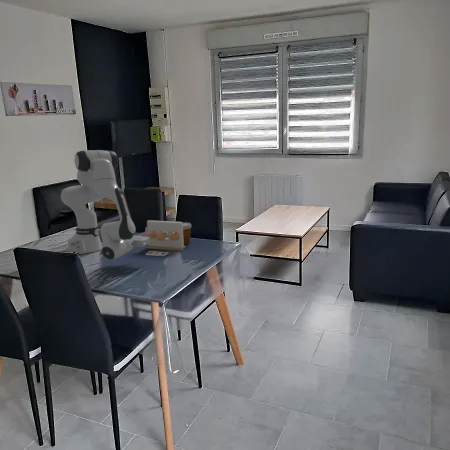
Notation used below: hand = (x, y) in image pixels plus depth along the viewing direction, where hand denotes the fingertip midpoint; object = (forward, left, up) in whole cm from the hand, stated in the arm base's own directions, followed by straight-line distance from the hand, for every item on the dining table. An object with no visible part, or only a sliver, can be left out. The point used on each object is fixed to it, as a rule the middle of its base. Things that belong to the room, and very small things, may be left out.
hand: (138, 236), depth 233 cm
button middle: (+7, +15, -6) cm, 18 cm away
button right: (+14, +18, -6) cm, 23 cm away
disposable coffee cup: (+14, +30, -12) cm, 35 cm away
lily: (-9, +27, -13) cm, 31 cm away
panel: (+7, +19, -12) cm, 24 cm away
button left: (0, +18, -6) cm, 19 cm away
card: (+7, +7, -12) cm, 16 cm away
